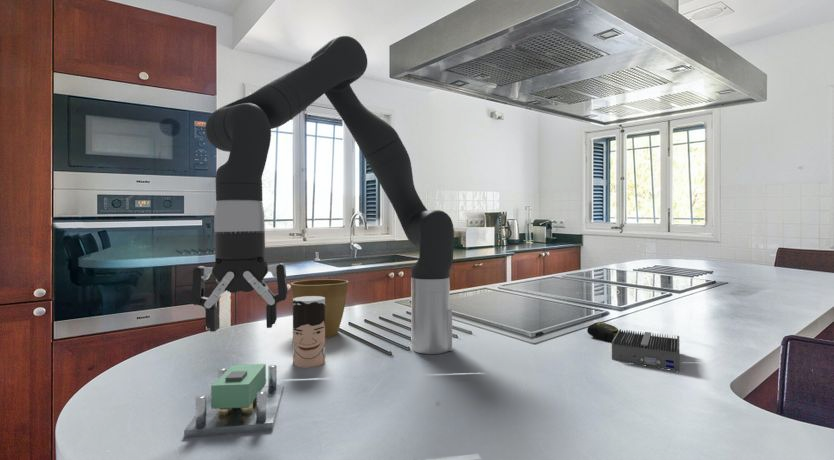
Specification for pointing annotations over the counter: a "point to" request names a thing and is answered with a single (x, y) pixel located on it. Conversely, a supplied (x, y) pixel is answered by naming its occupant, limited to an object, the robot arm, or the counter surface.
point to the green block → (238, 386)
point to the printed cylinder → (308, 331)
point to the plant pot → (326, 299)
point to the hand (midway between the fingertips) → (242, 328)
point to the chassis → (238, 412)
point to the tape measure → (602, 331)
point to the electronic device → (646, 349)
